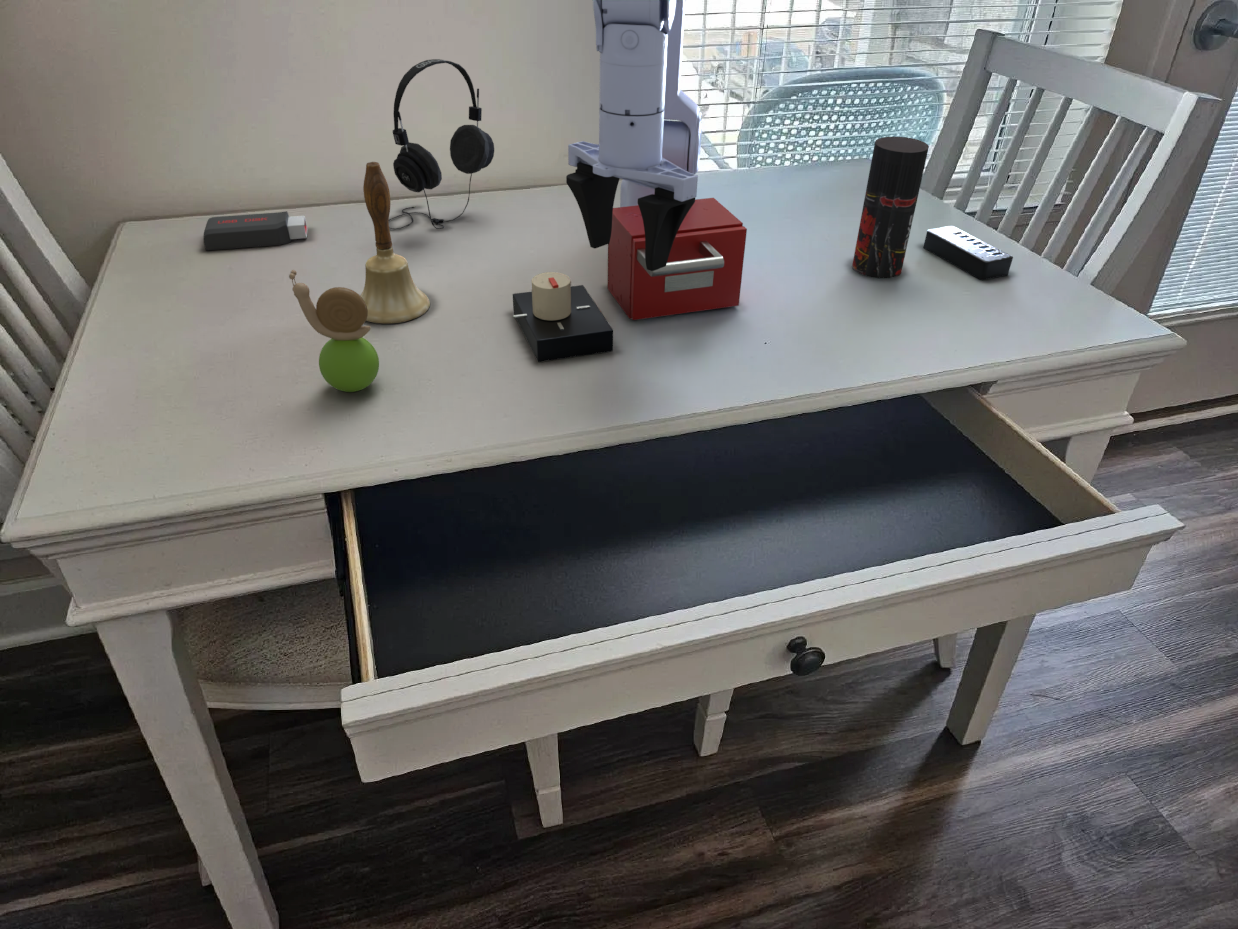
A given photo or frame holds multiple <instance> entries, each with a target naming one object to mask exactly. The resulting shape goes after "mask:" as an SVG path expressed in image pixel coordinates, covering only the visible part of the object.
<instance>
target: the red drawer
mask: <svg viewBox="0 0 1238 929" xmlns="http://www.w3.org/2000/svg"><path fill="white" fill-rule="evenodd" d="M747 233H748V228H747V227H745V226H744V225H743V226H742V227H733V228H724V229H715V230H706V231H698V232H689V233H680V234H676V237H675V239H674V242H673V245H672V248H671V251H670V254H669V257H668V261H667V264H666V266H665V267H662V268H660V269H657V270H655V271H650V270H648V269H647V267H646V261H645V238H636V239H633V249H632V285H631V318H632V319H631V320H632V321H638V320H645V319H651V318H658V317H666V316H674V315H680V314H688V313H695V312H703V311H709V310H716V309H723V308H731V307H738V306H739V305H740V297H741V288H742V280H743V279H742V278H743V270H744V259H745V250H746V243H747V242H746V241H747Z"/></svg>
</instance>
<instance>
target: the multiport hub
mask: <svg viewBox="0 0 1238 929" xmlns="http://www.w3.org/2000/svg"><path fill="white" fill-rule="evenodd" d="M922 246H923V247H922V248H924V249H925V250H927V251H929V252H930V253H932V254H934V255H935V256H937V257H938V258H939V257H940V258H941V259H943V260H944V261H946V262H948V263H949V264H952V265H954V267H956V268H959V269H961V271H962V270H963V271H964V272H966V273H968V274H970V275H971V276H972V277H974V278H977V279H978V280H980V281H986V280H990V279H995V278H1000V277H1005V276H1008V275H1009V273H1010V269H1011V266H1012V262H1013V259H1014V257H1013V255H1011V254H1009V253H1007V252H1005V251H1003V250H1001V249H1000V248H998V247H995V246H994V245H992V244H990V243H988V242H986V241H984V240H982V239H980V238H978V237H976V236H974V235H972V234H970V233H968V232H967V231H965V230H963V229H960V228H958V226H957V227H956V226H954V225H947V226H941V227H937V228H930V229H927V230H926V234H925V238H924V242H923V245H922Z"/></svg>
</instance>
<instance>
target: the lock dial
mask: <svg viewBox="0 0 1238 929" xmlns="http://www.w3.org/2000/svg"><path fill="white" fill-rule="evenodd" d="M571 282H572V280H571V278H570V277H569V275H567V274H565V273H561V272H557V271H549V272H548V271H547V272H540V273H537V274H536V275H534V276H533V277H532V278H531V291H532V305H533V314H534V315H535V316H536V317H537V318H539V319H543V320H551V321H553V320H560V319H564V318H566V317H568V316H569V315H570V313H571V286H572V285H571Z"/></svg>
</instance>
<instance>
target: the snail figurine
mask: <svg viewBox="0 0 1238 929" xmlns="http://www.w3.org/2000/svg"><path fill="white" fill-rule="evenodd" d="M297 273H298V272H297V271H296V270H295V269H291V270H290V273H289V274H288V278H289V280H291V283H292V286H293V287H292V292H293V296H294V297H295V298H296V299H297V301H298V305H299V307H300V309H301V311H302V313H303V315H304V317H305V319H306V321H307V323H308V324H309V325H310V326H311V328H312V329H313V330H314V331H315V332H317V334H319V335H321V336H323V337H326V338H328V339H329V340H328V341H327V342H326V343H325V344H323V347H322V348H321V349H320V353H319V357H318V367H319V371H320V374H321V376H322V378H323V379H324V380H325V382H326V383H327V384H328V385H329V386H330V387H332V388H334V389H335V390H338V391H341V392H344V393H345V392H347V393H354V392H359V391H361V390H364V389H366V388H367V387H369V386H370V385H371V384H373V382H374V381H375V379H376V377H377V375H378V374H379V370H380V359H379V354H378V352H377V350H376V348H375V346H373V345H374V344H372V343H371V342H370V341H369V340H368V339H366V338H364V337H365V336H366V335H367V334H368V333H369V332H370V331H371V329H372V328H371V325H364V324H365V323H366V322H367V321H366V319H367V316H368V310H367V306H366V303H365V301H364V300H363V298H362V297H361V296H360V295H361V294H359V293H358V292H357V291H354V290H352V289H351V288H348V287H344V286H343V287H342V286H336V287H331V288H329V289H326V290H324V292H322V293H321V294H320V296H319V297H318V299H317V301H316V306H315V304H314V303H313V301H312V299H311V296H310V292H311V291H310V288H309V286H308V285H306V283H303V282H296V275H298V274H297Z"/></svg>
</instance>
